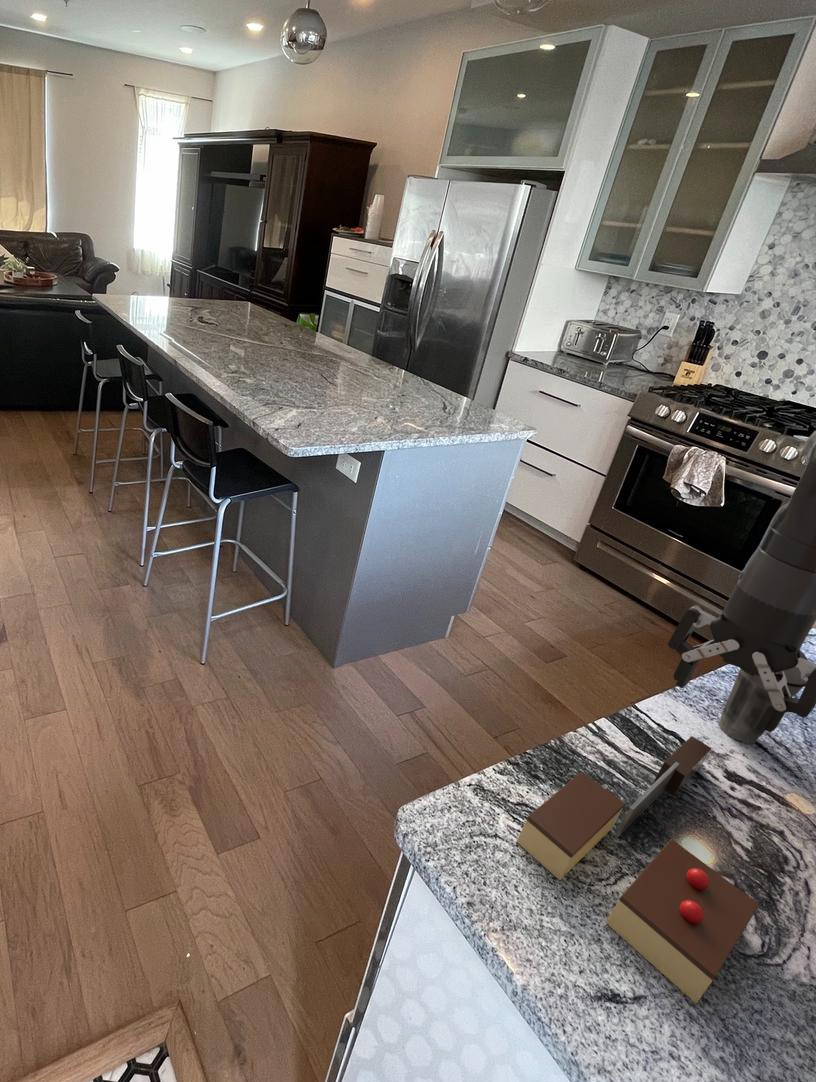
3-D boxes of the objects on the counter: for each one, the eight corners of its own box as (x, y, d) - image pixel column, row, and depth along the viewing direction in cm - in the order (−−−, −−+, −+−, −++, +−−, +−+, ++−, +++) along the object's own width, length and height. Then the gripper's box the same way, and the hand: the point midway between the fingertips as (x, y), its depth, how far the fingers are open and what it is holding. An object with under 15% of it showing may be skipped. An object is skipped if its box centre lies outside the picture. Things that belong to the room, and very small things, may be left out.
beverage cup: (779, 757, 87) (854, 639, 79) (723, 744, 88) (792, 627, 80) (749, 720, 94) (815, 608, 86) (697, 708, 94) (759, 596, 87)
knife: (680, 755, 84) (694, 729, 83) (700, 767, 83) (715, 742, 81) (605, 828, 72) (620, 800, 70) (627, 845, 70) (643, 816, 68)
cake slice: (570, 795, 75) (582, 771, 74) (612, 828, 72) (625, 803, 70) (516, 841, 68) (527, 815, 67) (559, 880, 65) (573, 854, 63)
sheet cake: (656, 863, 68) (677, 828, 66) (741, 930, 62) (766, 894, 60) (605, 922, 61) (627, 885, 59) (695, 1004, 55) (723, 965, 53)
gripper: (869, 618, 67) (799, 734, 74) (719, 557, 78) (668, 663, 84) (853, 638, 63) (780, 759, 69) (696, 569, 73) (644, 680, 79)
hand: (719, 706), depth 76 cm, fingers open, 8 cm apart
